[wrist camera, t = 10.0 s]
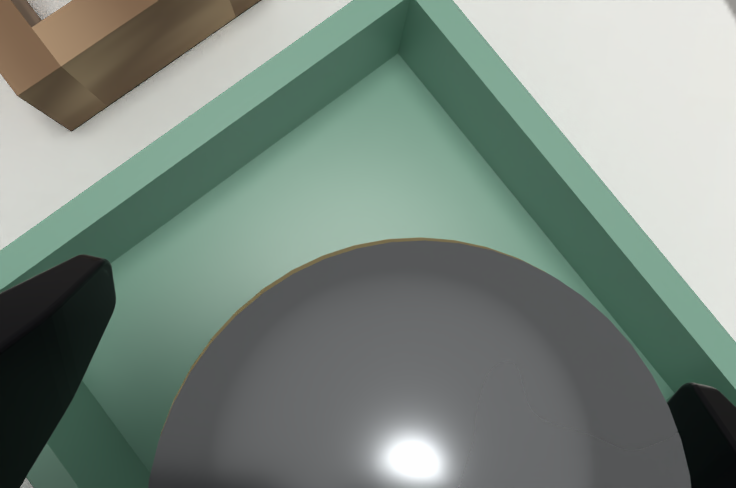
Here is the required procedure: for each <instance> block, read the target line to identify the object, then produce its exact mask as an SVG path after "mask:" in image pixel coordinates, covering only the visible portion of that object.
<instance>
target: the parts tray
mask: <svg viewBox="0 0 736 488" xmlns="http://www.w3.org/2000/svg"><path fill="white" fill-rule="evenodd" d="M419 237H422V238H435V239H447V240H456V241H461V242H466V243H470V244H475V245H480V246H484V247H488V248H491V249H494V250H497V251H499V252H502V253H505V254H508V255H511V256H514V257H516V258H519V259H521V260H523V261H525V262H527V263H529V264H531V265H533V266H535V267H537V268H539V269H541V270H543V271H545V272H546V273H548V274H550V275H552V276H553V277H555V278H557V279H558V280H560V281H561V282H563V283H564V284H565V285H567V286H568V287H570V288H571V289H573V290H574V291H576V292H577V293H579V294H580V295H582V296H583V297H584V298H585V299H586V300H588V301H589V302H590V303H591V304H592V305H593V306H594V307H596V308H597V309H598V310H599V311H600V312H601V313H602V314H604V315H605V316H606V317H607V318H608V319H609V320H610V321H611V322H612V323H613V324H614V326H615V327H616V328H617V329H618V330H619V331H620V332H621V333H622V335H623V336H624V337H625V338H626V339H627V340H628V341H629V342H630V344H631V345H632V346H633V348H634V349H635V350H636V352H637V353H638V355H639V356H640V358H641V359H642V361H643V362H644V363H645V365H646V366H647V368H648V369H649V371H650V372H651V374H652V375H653V377H654V379H655V381H656V383H657V385H658V387H659V389H660V391H661V393H662V395H663V396H664V398H665V400H666V402H667V401H668V400H669V399H670V398H671V397H672V396H673V395H674V393H675V392H676V391H677V390H678V389H679V388H680V387H681V386H682V385H683V384H685V383H687V382H693V383H698V384H702V385H707V386H711V387H714V388H716V389H717V390H719V391H720V392H721V393H722V394H723V395H724V396H725V397H726V398H727V399H728V400H729V401H730V402H731V403H732V404H733V405H734V406H735V407H736V342H735V341H734V340H733V339H732V337H731V336H730V335H729V334H728V333H727V331H726V330H725V329H724V328H723V326H722V325H721V324H720V323H719V322H718V320H717V319H716V318H715V317H714V316H713V314H712V313H711V312H710V311H709V310H708V308H707V307H706V306H705V305H704V304H703V302H702V301H701V300H700V299H699V297H698V296H697V295H696V294H695V293H694V291H693V290H692V289H691V288H690V287H689V285H688V284H687V283H686V282H685V281H684V279H683V278H682V277H681V276H680V275H679V273H678V272H677V271H676V270H675V268H674V267H673V266H672V265H671V264H670V262H669V261H668V260H667V259H666V258H665V256H664V255H663V254H662V253H661V252H660V250H659V249H658V248H657V247H656V246H655V244H654V243H653V242H652V241H651V239H650V238H649V237H648V236H647V235H646V233H645V232H644V231H643V230H642V229H641V227H640V226H639V225H638V224H637V223H636V221H635V220H634V219H633V218H632V216H631V215H630V214H629V213H628V212H627V210H626V209H625V208H624V207H623V206H622V204H621V203H620V202H619V201H618V200H617V198H616V197H615V196H614V195H613V194H612V192H611V191H610V190H609V189H608V187H607V186H606V185H605V184H604V183H603V181H602V180H601V179H600V178H599V177H598V175H597V174H596V173H595V172H594V171H593V169H592V168H591V167H590V166H589V165H588V163H587V162H586V161H585V160H584V158H583V157H582V156H581V155H580V154H579V152H578V151H577V150H576V149H575V148H574V146H573V145H572V144H571V143H570V142H569V140H568V139H567V138H566V137H565V136H564V134H563V133H562V132H561V131H560V129H559V128H558V127H557V126H556V125H555V123H554V122H553V121H552V120H551V119H550V117H549V116H548V115H547V114H546V113H545V111H544V110H543V109H542V108H541V107H540V105H539V104H538V103H537V102H536V100H535V99H534V98H533V97H532V96H531V94H530V93H529V92H528V91H527V90H526V88H525V87H524V86H523V85H522V84H521V82H520V81H519V80H518V79H517V78H516V76H515V75H514V74H513V73H512V71H511V70H510V69H509V68H508V67H507V65H506V64H505V63H504V62H503V61H502V59H501V58H500V57H499V56H498V55H497V53H496V52H495V51H494V50H493V48H492V47H491V46H490V45H489V44H488V42H487V41H486V40H485V39H484V38H483V36H482V35H481V34H480V33H479V32H478V30H477V29H476V28H475V27H474V26H473V24H472V23H471V22H470V21H469V19H468V18H467V17H466V16H465V15H464V13H463V12H462V11H461V10H460V9H459V7H458V6H457V5H456V4H455V3H454V1H453V0H353V1H351V2H350V3H349V4H347V5H346V6H344V7H343V8H342V9H340V10H339V11H337V12H336V13H335V14H333V15H332V16H330V17H329V18H327V19H326V20H325V21H323V22H322V23H320V24H319V25H318V26H316V27H315V28H313V29H312V30H311V31H309V32H308V33H306V34H305V35H304V36H302V37H301V38H299V39H298V40H296V41H295V42H294V43H292V44H291V45H289V46H288V47H287V48H285V49H284V50H282V51H281V52H280V53H278V54H277V55H275V56H274V57H273V58H271V59H270V60H268V61H267V62H265V63H264V64H263V65H261V66H260V67H258V68H257V69H256V70H254V71H253V72H251V73H250V74H249V75H247V76H246V77H244V78H243V79H242V80H240V81H239V82H237V83H236V84H234V85H233V86H232V87H230V88H229V89H227V90H226V91H225V92H223V93H222V94H220V95H219V96H218V97H216V98H215V99H213V100H212V101H210V102H209V103H208V104H206V105H205V106H203V107H202V108H201V109H199V110H198V111H196V112H195V113H194V114H192V115H191V116H189V117H188V118H187V119H185V120H184V121H182V122H181V123H179V124H178V125H177V126H175V127H174V128H172V129H171V130H170V131H168V132H167V133H165V134H164V135H163V136H161V137H160V138H158V139H157V140H156V141H154V142H153V143H151V144H150V145H148V146H147V147H146V148H144V149H143V150H141V151H140V152H139V153H137V154H136V155H134V156H133V157H132V158H130V159H129V160H127V161H126V162H125V163H123V164H122V165H120V166H119V167H117V168H116V169H115V170H113V171H112V172H110V173H109V174H108V175H106V176H105V177H103V178H102V179H101V180H99V181H98V182H96V183H95V184H94V185H92V186H91V187H89V188H88V189H86V190H85V191H84V192H82V193H81V194H79V195H78V196H77V197H75V198H74V199H72V200H71V201H70V202H68V203H67V204H65V205H64V206H63V207H61V208H60V209H58V210H57V211H55V212H54V213H53V214H51V215H50V216H48V217H47V218H46V219H44V220H43V221H41V222H40V223H39V224H37V225H36V226H34V227H33V228H31V229H30V230H29V231H27V232H26V233H24V234H23V235H22V236H20V237H19V238H17V239H16V240H15V241H13V242H12V243H10V244H9V245H8V246H6V247H5V248H3V249H2V250H0V293H1V292H3V291H5V290H8V289H10V288H12V287H14V286H16V285H18V284H20V283H22V282H24V281H26V280H28V279H30V278H32V277H34V276H36V275H38V274H40V273H42V272H44V271H46V270H48V269H50V268H52V267H54V266H56V265H59V264H61V263H63V262H65V261H67V260H69V259H71V258H73V257H75V256H77V255H81V254H86V255H91V256H96V257H101V258H105V259H107V260H109V262H110V263H111V266H112V271H113V278H114V285H115V292H116V305H115V309H114V312H113V314H112V316H111V319H110V321H109V323H108V325H107V327H106V329H105V332H104V334H103V336H102V338H101V340H100V342H99V345H98V347H97V349H96V351H95V353H94V355H93V358H92V360H91V362H90V364H89V366H88V368H87V371H86V373H85V375H84V377H83V379H82V381H81V384H80V386H79V388H78V390H77V392H76V394H75V396H74V398H73V400H72V402H71V403H70V405H69V407H68V409H67V410H66V412H65V414H64V415H63V417H62V419H61V420H60V422H59V424H58V425H57V427H56V429H55V430H54V432H53V434H52V435H51V437H50V439H49V440H48V442H47V443H46V445H45V447H44V448H43V450H42V452H41V453H40V455H39V457H38V458H37V460H36V462H35V463H34V465H33V467H32V468H31V470H30V471H29V473H28V475H27V476H26V477H27V479H28V480H29V482H30V483H31V484H32V486H33V487H34V488H148V485H149V478H150V474H151V470H152V466H153V462H154V458H155V453H156V449H157V445H158V441H159V439H160V435H161V432H162V429H163V426H164V424H165V421H166V419H167V416H168V413H169V411H170V408H171V406H172V403H173V400H174V398H175V396H176V394H177V392H178V391H179V389H180V387H181V385H182V383H183V381H184V379H185V378H186V376H187V374H188V372H189V370H190V368H191V366H192V365H193V364H194V362H195V361H196V359H197V358H198V357H199V355H200V354H201V352H202V351H203V350H204V348H205V347H206V345H207V344H208V343H209V341H210V340H211V338H212V337H213V336H214V335H215V334H216V333H217V332H218V331H219V329H220V328H221V327H222V326H223V325H224V324H225V323H226V322H227V321H228V320H229V319H230V318H231V316H232V315H233V314H234V313H235V312H236V311H237V310H238V309H240V308H241V307H242V306H243V305H244V304H245V303H247V302H248V301H249V300H250V299H251V298H253V297H254V296H255V295H256V294H257V293H259V292H260V291H261V290H262V289H263V288H265V287H266V286H268V285H270V284H271V283H273V282H274V281H276V280H277V279H279V278H281V277H282V276H284V275H285V274H287V273H288V272H290V271H291V270H293V269H295V268H297V267H300V266H302V265H304V264H306V263H308V262H310V261H312V260H314V259H317V258H319V257H321V256H323V255H326V254H329V253H332V252H335V251H338V250H341V249H345V248H348V247H351V246H354V245H358V244H364V243H369V242H375V241H380V240H386V239H400V238H419Z"/></svg>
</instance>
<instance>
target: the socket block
mask: <svg viewBox="0 0 736 488" xmlns="http://www.w3.org/2000/svg"><path fill="white" fill-rule="evenodd" d="M259 1H260V0H72V1H71V2H69V3H68V4H66V5H65V6H63V7H62V8H60V9H59V10H57V11H56V12H54V13H53V14H51V15H50V16H48V17H47V18H45V19H44V20H41V19H40V18H39V16H38V15H37V14H36V12H35V11H34V10H33V8H32V7H31V6H30V5H29V3H28V2H27V1H26V0H0V74H1V75H2V76H3V77H4V79H5V80H6V81H7V83H8V84H9V85H10V87H11V88H12V89H13V91H14V92H15V93H16V95H17V96H18V97H20V98H21V99H23V100H24V101H26V102H27V103H29V104H30V105H32V106H33V107H35V108H37V109H38V110H40V111H41V112H43V113H44V114H46V115H47V116H49V117H50V118H52V119H53V120H55V121H56V122H58V123H59V124H61V125H62V126H64V127H65V128H67V129H68V130H70V131H72V130H74V129H75V128H77V127H78V126H80V125H81V124H83V123H84V122H85V121H87V120H88V119H90V118H91V117H93V116H94V115H96V114H97V113H98V112H100V111H101V110H103V109H104V108H106V107H107V106H109V105H110V104H111V103H113V102H114V101H116V100H117V99H119V98H120V97H122V96H123V95H124V94H126V93H127V92H129V91H130V90H132V89H133V88H134V87H136V86H137V85H139V84H140V83H142V82H143V81H145V80H146V79H147V78H149V77H150V76H152V75H153V74H155V73H156V72H158V71H159V70H160V69H162V68H163V67H165V66H166V65H168V64H169V63H171V62H172V61H173V60H175V59H176V58H178V57H179V56H181V55H182V54H184V53H185V52H186V51H188V50H189V49H191V48H192V47H194V46H195V45H197V44H198V43H199V42H201V41H202V40H204V39H205V38H207V37H208V36H210V35H211V34H212V33H214V32H215V31H217V30H218V29H220V28H221V27H223V26H224V25H225V24H227V23H228V22H230V21H231V20H233V19H234V18H236V17H237V16H238V15H240V14H241V13H243V12H244V11H246V10H247V9H248V8H250V7H251V6H253V5H254V4H256V3H257V2H259Z"/></svg>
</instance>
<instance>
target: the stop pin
mask: <svg viewBox="0 0 736 488" xmlns="http://www.w3.org/2000/svg"><path fill="white" fill-rule="evenodd" d="M148 488H691V480H690V474H689V470H688V466H687V461H686V457H685V453H684V449H683V445H682V441H681V438H680V435H679V433H678V430H677V427H676V425H675V422H674V419H673V417H672V414H671V411H670V409H669V406H668V404H667V402H666V400H665V398H664V396H663V395H662V393H661V391H660V389H659V387H658V385H657V383H656V381H655V379H654V377H653V375H652V374H651V372H650V371H649V369H648V368H647V366H646V365H645V363H644V362H643V361H642V359H641V358H640V356H639V355H638V353H637V352H636V350H635V349H634V348H633V346H632V345H631V344H630V342H629V341H628V340H627V339H626V338H625V337H624V336H623V335H622V333H621V332H620V331H619V330H618V329H617V328H616V327H615V326H614V324H613V323H612V322H611V321H610V320H609V319H608V318H607V317H606V316H605V315H604V314H602V313H601V312H600V311H599V310H598V309H597V308H596V307H594V306H593V305H592V304H591V303H590V302H589V301H588V300H586V299H585V298H584V297H583V296H582V295H580V294H579V293H577V292H576V291H574V290H573V289H571V288H570V287H568V286H567V285H565V284H564V283H563V282H561V281H560V280H558V279H557V278H555V277H553V276H552V275H550V274H548V273H546V272H545V271H543V270H541V269H539V268H537V267H535V266H533V265H531V264H529V263H527V262H525V261H523V260H521V259H519V258H516V257H514V256H511V255H508V254H505V253H502V252H499V251H497V250H494V249H491V248H488V247H484V246H480V245H475V244H470V243H466V242H461V241H456V240H447V239H435V238H422V237H419V238H400V239H386V240H380V241H375V242H369V243H364V244H358V245H354V246H351V247H348V248H345V249H341V250H338V251H335V252H332V253H329V254H326V255H323V256H321V257H319V258H317V259H314V260H312V261H310V262H308V263H306V264H304V265H302V266H300V267H297V268H295V269H293V270H291V271H290V272H288V273H287V274H285V275H284V276H282V277H281V278H279V279H277V280H276V281H274V282H273V283H271V284H270V285H268V286H266V287H265V288H263V289H262V290H261V291H260V292H259V293H257V294H256V295H255V296H254V297H253V298H251V299H250V300H249V301H248V302H247V303H245V304H244V305H243V306H242V307H241V308H240V309H238V310H237V311H236V312H235V313H234V314H233V315H232V316H231V318H230V319H229V320H228V321H227V322H226V323H225V324H224V325H223V326H222V327H221V328H220V329H219V331H218V332H217V333H216V334H215V335H214V336H213V337H212V338H211V340H210V341H209V343H208V344H207V345H206V347H205V348H204V350H203V351H202V352H201V354H200V355H199V357H198V358H197V359H196V361H195V362H194V364H193V365H192V366H191V368H190V370H189V372H188V374H187V376H186V378H185V379H184V381H183V383H182V385H181V387H180V389H179V391H178V392H177V394H176V396H175V398H174V400H173V403H172V406H171V408H170V411H169V413H168V416H167V419H166V421H165V424H164V426H163V429H162V432H161V435H160V439H159V441H158V445H157V449H156V453H155V458H154V462H153V466H152V470H151V474H150V478H149V485H148Z"/></svg>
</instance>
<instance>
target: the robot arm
mask: <svg viewBox="0 0 736 488" xmlns="http://www.w3.org/2000/svg"><path fill="white" fill-rule="evenodd" d="M115 305H116V292H115V285H114V278H113V271H112V266H111V263H110V262H109V260H107V259H105V258H101V257H96V256H91V255H86V254H81V255H77V256H75V257H73V258H71V259H69V260H67V261H65V262H63V263H61V264H59V265H56V266H54V267H52V268H50V269H48V270H46V271H44V272H42V273H40V274H38V275H36V276H34V277H32V278H30V279H28V280H26V281H24V282H22V283H20V284H18V285H16V286H14V287H12V288H10V289H8V290H5V291H3V292H1V293H0V488H20V486H21V485H22V483H23V481H24V480H25V478H26V476H27V475H28V473H29V471H30V470H31V468H32V467H33V465H34V463H35V462H36V460H37V458H38V457H39V455H40V453H41V452H42V450H43V448H44V447H45V445H46V443H47V442H48V440H49V439H50V437H51V435H52V434H53V432H54V430H55V429H56V427H57V425H58V424H59V422H60V420H61V419H62V417H63V415H64V414H65V412H66V410H67V409H68V407H69V405H70V403H71V402H72V400H73V398H74V396H75V394H76V392H77V390H78V388H79V386H80V384H81V381H82V379H83V377H84V375H85V373H86V371H87V368H88V366H89V364H90V362H91V360H92V358H93V355H94V353H95V351H96V349H97V347H98V345H99V342H100V340H101V338H102V336H103V334H104V332H105V329H106V327H107V325H108V323H109V321H110V319H111V316H112V314H113V312H114V309H115ZM667 404H668V406H669V409H670V411H671V414H672V417H673V419H674V422H675V425H676V427H677V430H678V433H679V435H680V438H681V441H682V445H683V449H684V453H685V457H686V461H687V466H688V470H689V474H690V480H691V488H736V407H735V406H734V405H733V404H732V403H731V402H730V401H729V400H728V399H727V398H726V397H725V396H724V395H723V394H722V393H721V392H720V391H719V390H717V389H716V388H714V387H711V386H707V385H702V384H698V383H693V382H687V383H685V384H683V385H682V386H681V387H680V388H679V389H678V390H677V391H676V392H675V393H674V395H673V396H672V397H671V398H670V399H669V400H668V401H667Z"/></svg>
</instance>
